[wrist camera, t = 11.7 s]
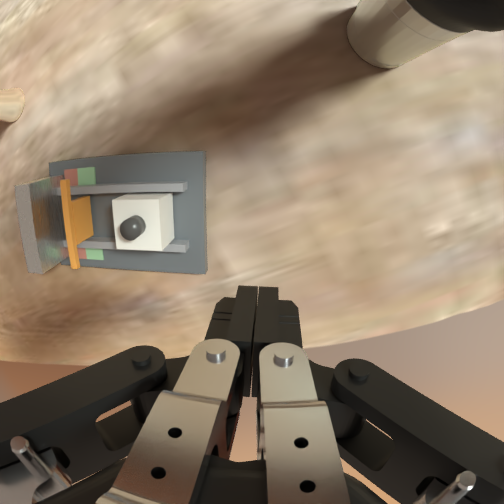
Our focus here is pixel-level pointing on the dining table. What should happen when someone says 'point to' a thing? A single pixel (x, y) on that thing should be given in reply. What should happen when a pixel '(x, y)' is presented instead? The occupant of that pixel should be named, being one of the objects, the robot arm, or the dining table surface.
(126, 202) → the spring plunger
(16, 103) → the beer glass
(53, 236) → the brushed metal plate
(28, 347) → the dining table surface
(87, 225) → the peak pointer
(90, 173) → the tester base
